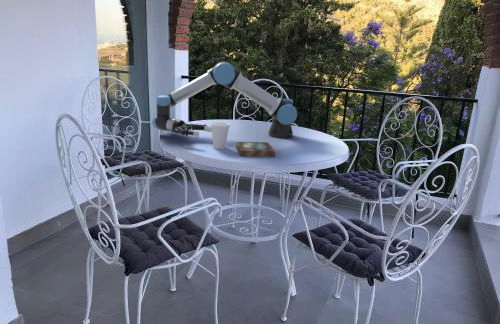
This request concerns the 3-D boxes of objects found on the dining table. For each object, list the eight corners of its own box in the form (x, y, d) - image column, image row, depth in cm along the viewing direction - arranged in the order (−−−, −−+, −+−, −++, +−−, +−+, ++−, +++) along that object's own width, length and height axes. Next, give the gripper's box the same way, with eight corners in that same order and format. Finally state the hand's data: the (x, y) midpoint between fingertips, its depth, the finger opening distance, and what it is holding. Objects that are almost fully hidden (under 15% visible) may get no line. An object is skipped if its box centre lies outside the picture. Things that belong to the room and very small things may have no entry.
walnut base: (268, 147, 226) (268, 141, 225) (274, 156, 209) (275, 150, 208) (235, 147, 223) (235, 141, 222) (239, 156, 206) (240, 150, 205)
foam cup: (225, 150, 214) (226, 126, 210) (208, 148, 216) (209, 124, 212) (229, 146, 223) (231, 123, 219) (213, 144, 225) (214, 121, 221)
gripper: (190, 129, 243) (219, 135, 233) (160, 136, 222) (191, 143, 212) (190, 116, 241) (220, 122, 231) (160, 122, 220) (192, 128, 210)
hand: (206, 132), depth 221 cm, fingers open, 13 cm apart
